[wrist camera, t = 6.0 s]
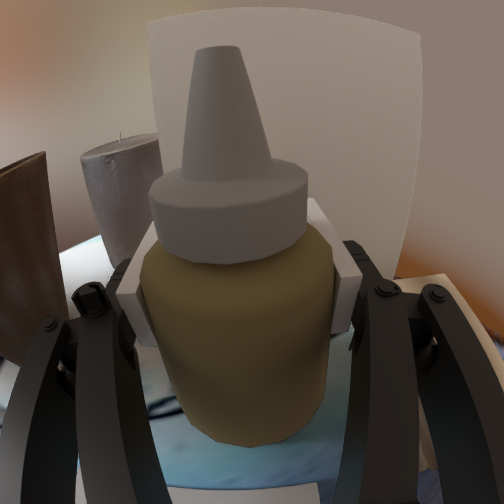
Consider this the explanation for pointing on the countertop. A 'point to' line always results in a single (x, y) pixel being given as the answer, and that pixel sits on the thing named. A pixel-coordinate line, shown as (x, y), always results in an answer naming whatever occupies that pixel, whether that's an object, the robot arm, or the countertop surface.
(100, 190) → the pillar candle
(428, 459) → the offcut stack
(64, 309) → the plant pot
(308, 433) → the countertop surface
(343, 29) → the panel
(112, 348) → the robot arm
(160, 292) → the squeeze bottle
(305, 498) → the grey mat
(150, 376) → the countertop surface
